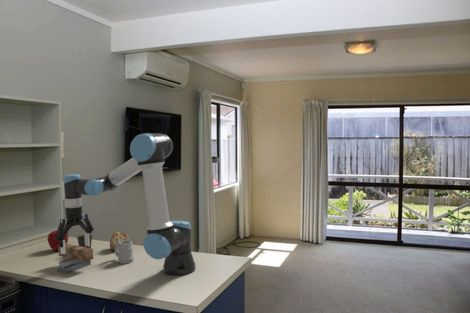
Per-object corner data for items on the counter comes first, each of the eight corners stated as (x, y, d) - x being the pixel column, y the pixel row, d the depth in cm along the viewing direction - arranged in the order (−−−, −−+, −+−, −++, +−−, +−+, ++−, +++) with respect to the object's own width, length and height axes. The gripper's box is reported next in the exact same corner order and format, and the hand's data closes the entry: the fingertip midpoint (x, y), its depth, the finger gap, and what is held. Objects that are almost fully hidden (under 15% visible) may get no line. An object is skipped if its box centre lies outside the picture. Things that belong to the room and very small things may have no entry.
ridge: (90, 264, 191) (90, 254, 191) (65, 273, 179) (65, 263, 179) (82, 262, 194) (82, 253, 194) (57, 271, 182) (57, 261, 182)
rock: (112, 246, 221) (111, 229, 221) (130, 245, 222) (129, 228, 222) (107, 253, 209) (106, 234, 209) (126, 252, 211) (126, 234, 210)
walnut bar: (93, 258, 184) (92, 248, 184) (86, 261, 181) (85, 250, 180) (65, 253, 194) (65, 243, 193) (58, 255, 190) (58, 245, 190)
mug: (125, 264, 190) (124, 240, 189) (109, 260, 196) (108, 237, 195) (137, 260, 196) (136, 237, 195) (121, 256, 203) (120, 234, 202)
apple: (45, 250, 217) (44, 229, 216) (64, 246, 224) (64, 226, 224) (51, 254, 209) (50, 233, 208) (71, 250, 216) (70, 229, 216)
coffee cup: (87, 250, 215) (86, 232, 215) (96, 252, 211) (95, 234, 210) (74, 254, 209) (73, 235, 208) (83, 256, 204) (82, 238, 203)
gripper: (89, 201, 198) (91, 242, 199) (44, 210, 177) (47, 255, 178) (99, 202, 194) (101, 244, 196) (54, 211, 173) (57, 258, 174)
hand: (75, 249), depth 187 cm, fingers open, 13 cm apart
